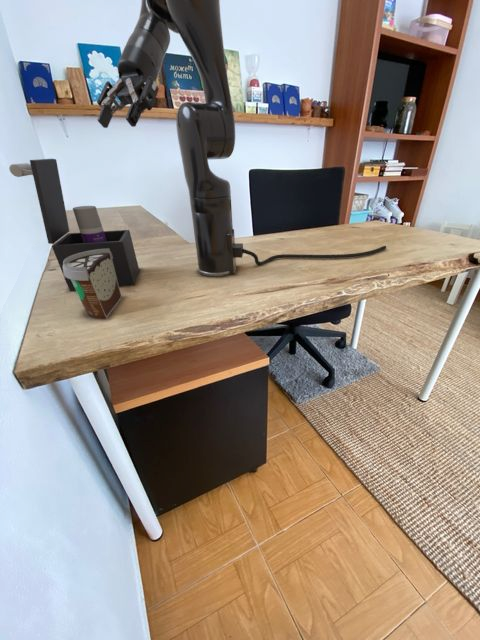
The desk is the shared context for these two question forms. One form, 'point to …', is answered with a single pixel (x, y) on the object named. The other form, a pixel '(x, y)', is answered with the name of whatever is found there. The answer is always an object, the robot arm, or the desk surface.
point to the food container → (94, 281)
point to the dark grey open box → (116, 243)
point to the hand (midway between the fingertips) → (115, 123)
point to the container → (89, 224)
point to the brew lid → (47, 195)
